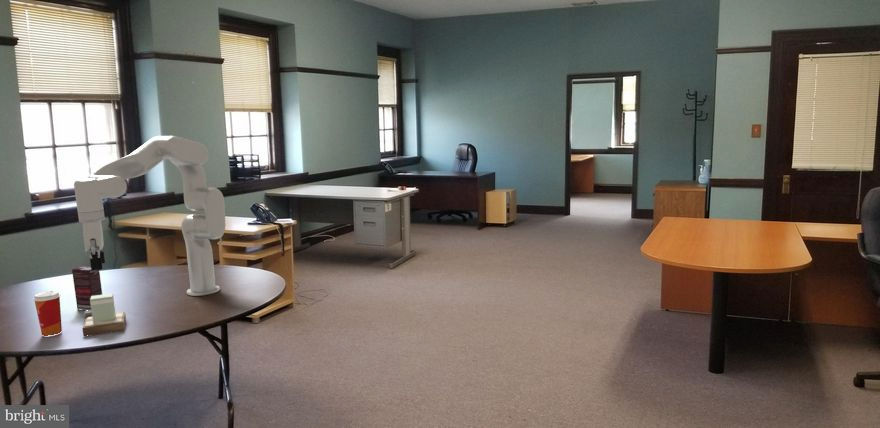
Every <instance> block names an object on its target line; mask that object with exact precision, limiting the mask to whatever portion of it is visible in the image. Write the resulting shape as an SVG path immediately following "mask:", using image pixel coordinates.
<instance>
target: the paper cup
mask: <svg viewBox="0 0 880 428" xmlns="http://www.w3.org/2000/svg"><path fill="white" fill-rule="evenodd" d="M60 298H61V294H60V293H59V291H57V290H53V291H51V290H50V291H43V292H39V293H36V294H35V295H34V296H33V299H32V300H33V301H34V305H35V310H36V313H37V317H38V323H39V327H40V332H41V336H42V335H44V336H48V335H54V334H58V333H60V332H61V331H63V330H62V329H63V327H62V313H61V312H62V311H61V299H60Z"/></svg>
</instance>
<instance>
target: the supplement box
mask: <svg viewBox="0 0 880 428" xmlns="http://www.w3.org/2000/svg"><path fill="white" fill-rule="evenodd" d="M71 272H72V281H73V287H74V294H75V302H76V309H82V310H81V311H83V310H91V304H90V298H91V296H95V295H103V289H102V282H101V281H102V280H101V273H100V270H94V271H92V270H91V266H82V265H81V266H78V267H75V268H72V269H71Z"/></svg>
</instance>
